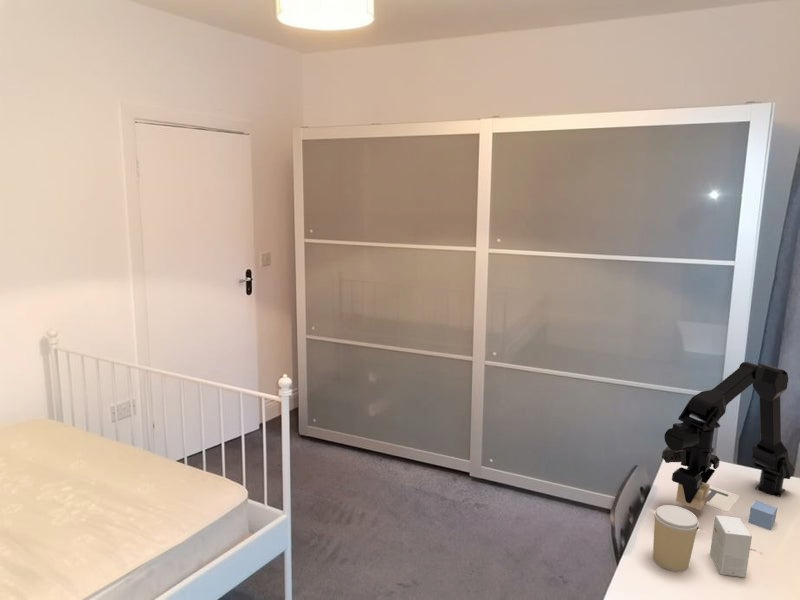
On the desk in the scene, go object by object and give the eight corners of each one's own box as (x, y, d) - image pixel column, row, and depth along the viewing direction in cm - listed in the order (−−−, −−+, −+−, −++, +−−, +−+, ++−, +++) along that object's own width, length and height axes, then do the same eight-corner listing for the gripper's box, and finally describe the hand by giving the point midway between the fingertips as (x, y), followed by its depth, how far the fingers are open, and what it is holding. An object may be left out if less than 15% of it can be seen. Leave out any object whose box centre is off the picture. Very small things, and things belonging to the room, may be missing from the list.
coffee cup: (692, 556, 145) (698, 510, 143) (692, 578, 137) (699, 530, 134) (650, 545, 149) (655, 500, 147) (648, 566, 141) (654, 519, 138)
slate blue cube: (753, 517, 163) (756, 500, 162) (774, 525, 160) (777, 507, 159) (748, 524, 160) (750, 507, 159) (769, 532, 156) (772, 514, 155)
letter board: (695, 482, 181) (696, 480, 181) (740, 497, 173) (740, 496, 173) (681, 496, 173) (681, 494, 172) (727, 513, 164) (727, 511, 164)
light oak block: (684, 493, 167) (686, 476, 166) (707, 501, 163) (709, 484, 162) (676, 501, 163) (678, 484, 162) (699, 510, 159) (702, 492, 158)
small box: (745, 578, 138) (752, 536, 135) (719, 574, 139) (725, 533, 137) (734, 557, 145) (740, 517, 143) (709, 553, 146) (715, 514, 144)
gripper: (680, 425, 171) (674, 475, 175) (655, 444, 158) (648, 499, 161) (723, 437, 164) (715, 490, 167) (700, 459, 151) (692, 516, 154)
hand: (692, 498), depth 163 cm, fingers closed on light oak block, 6 cm apart
